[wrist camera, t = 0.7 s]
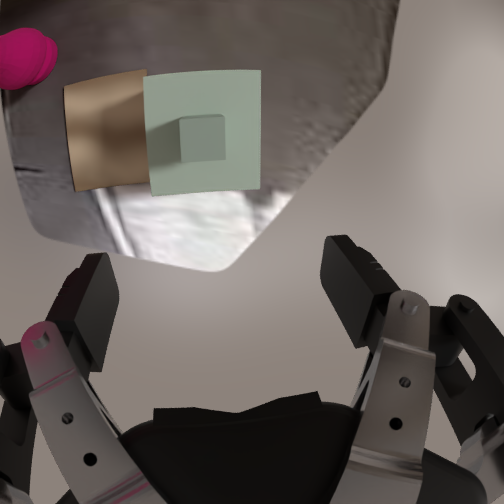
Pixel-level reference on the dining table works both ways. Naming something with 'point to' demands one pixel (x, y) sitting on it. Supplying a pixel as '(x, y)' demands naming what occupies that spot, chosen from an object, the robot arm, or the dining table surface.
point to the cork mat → (107, 131)
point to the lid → (203, 131)
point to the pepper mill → (25, 58)
